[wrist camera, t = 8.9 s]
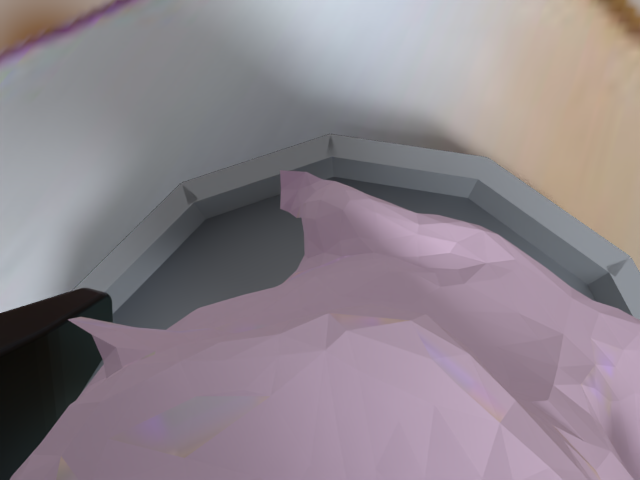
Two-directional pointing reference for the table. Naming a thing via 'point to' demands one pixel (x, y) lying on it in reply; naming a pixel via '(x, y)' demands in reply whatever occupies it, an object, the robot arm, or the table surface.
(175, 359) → the ice cream cone
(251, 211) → the round tray
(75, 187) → the table surface
